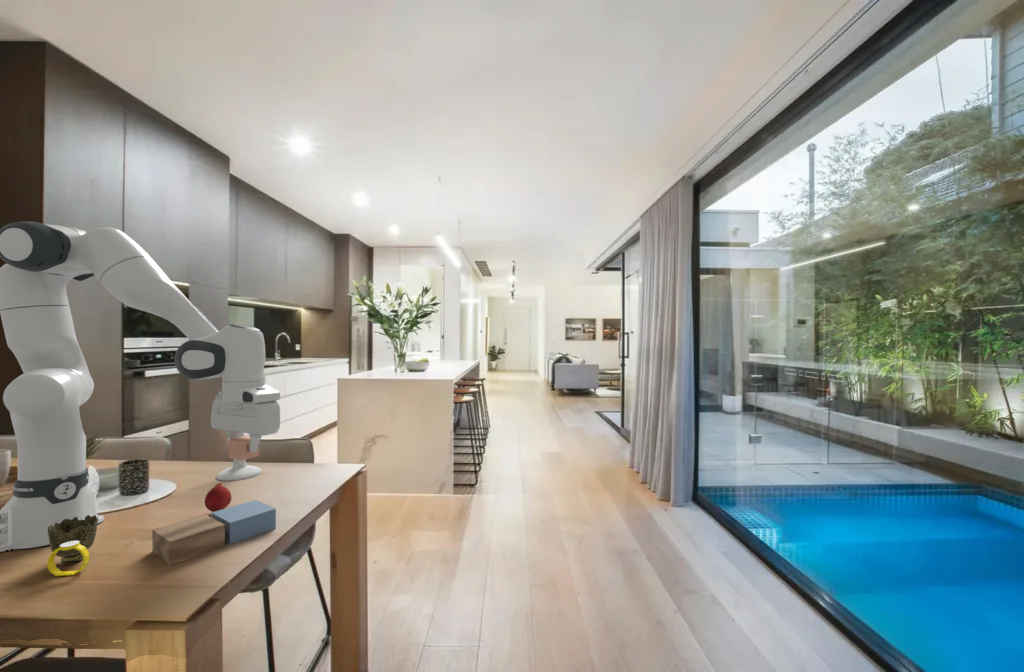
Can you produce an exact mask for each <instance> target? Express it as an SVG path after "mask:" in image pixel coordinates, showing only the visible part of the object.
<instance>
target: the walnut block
mask: <svg viewBox="0 0 1024 672" xmlns="http://www.w3.org/2000/svg"><path fill="white" fill-rule="evenodd" d="M151 536H152V537H151V538H152V539H151V540H152V547H151V549H152V550H151V551H152V553H153V554H155V555H156V556H157V557H159V558H160V559H161V560H163V562H165V561H166V562H167V563H166V562H165V563H166V564H168V565H169V564H170V565H169V566H172V565H174V564H173V563H175V564H177V563H176V562H178V563H180V562H179V561H181V562H183V561H182V560H184V561H186V560H185V559H187V560H189V559H192V558H195V557H197V556H201V555H204V554H207V553H209V552H212V551H215V550H218V549H220V548H224V547H225V544H226V541H225V524H223V523H221V522H219V521H217V520H215V519H213V518H211V515H210V516H209V515H208V514H202V515H198V516H196V517H191V518H189V519H185V520H181V521H178V522H174V523H171V524H167V525H164V526H160V527H156V528H154V529H152V535H151ZM188 558H189V559H188ZM171 564H172V565H171Z"/></svg>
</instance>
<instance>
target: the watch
mask: <svg viewBox="0 0 1024 672" xmlns="http://www.w3.org/2000/svg"><path fill="white" fill-rule="evenodd" d="M70 549H76V550H78V551H80V553H81V554H82V556H83V559H82V564H81V565H80V568H79V569H77V570H66V571H64V570H60V568H58V567H57V566H56V563H55V559H56V554H57V552H58V551H59V550H70ZM89 562H90V552H89V549H88V550H87V548H86V547H85V546H83V545H81V544H80V541H69V542H66V543H63V544H61V545H60V547H59V548H58V549H56V550H55V551H53V552H52V551H51V554H50V555H49V556H48V558H47V562H46V566H47V569H48V571H49V573H50V574H52V575H53V576H55V577H65V576H76V575H77V574H78V573H79V572H81V571H82V570H84V569H85V568H86V567H87V565H88V564H89Z"/></svg>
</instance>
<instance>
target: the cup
mask: <svg viewBox="0 0 1024 672" xmlns="http://www.w3.org/2000/svg"><path fill="white" fill-rule="evenodd" d="M98 518H99V517H98ZM98 518H97V517H96V515H94V516H92V517H91V516H90V515H87V516H86V517H85V520H83V519H82V520H78V517H74V518H73V519H72V520H71V519H64V520H63V521H62V522H61V523H60V524H58V523H55V524H54V526H53V525H50V526H48V536H49V542H50V544H49V546H50V550H51V553H52V552H53V551H55V550H56V549H58V548H59V547H60V545H61V544H63V543H66V542H69V541H80V544H81V545H83V546H85V547H86V548H87V550H88V551H89V549H90V548H91V547H92V546H93V544H94V543H95V539H96V535H97V530H98V524H99V523H98ZM55 557H59V558H60V562H61V564H63V565H69V564H71V565H72V564H74V563H77V562H79V561H81V560H82V561H83V556H82V554H81V553H80V551H78V550H76V549H70V550H59V551H58V552H57V554H56V555H55Z"/></svg>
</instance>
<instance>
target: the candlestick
mask: <svg viewBox="0 0 1024 672" xmlns="http://www.w3.org/2000/svg"><path fill="white" fill-rule="evenodd" d="M242 436H245V433H241V432H239V434H238V437H242ZM246 460H247V459H245V460H242V461H241V460H235V459H233V461H232V466H231V467H228V468H226V469H223V470H222V471H220V472H219V473H218V474H217V475H216V480H218V481H223V482H224V481H225V482H228V481H229V482H231V481H241V480H247V479H251V478H254V477H257V476H258V475H261V474H262V469H261V468H260V467H258V466H255V465H249V464H247V463H246Z"/></svg>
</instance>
